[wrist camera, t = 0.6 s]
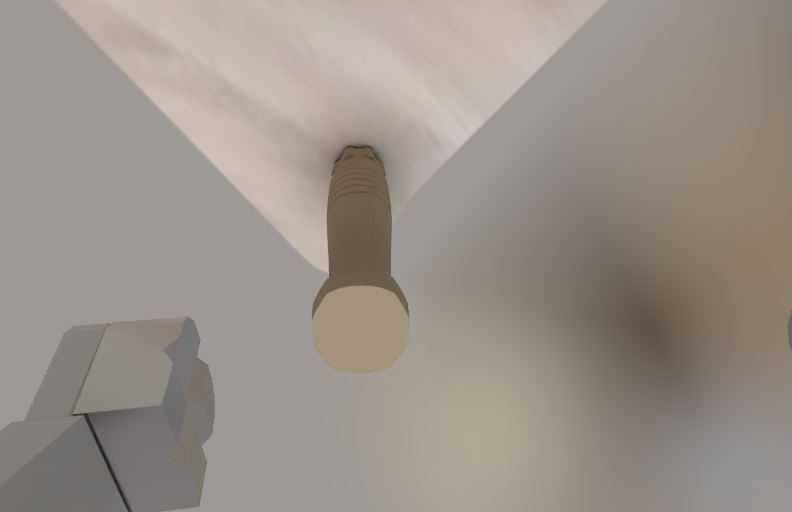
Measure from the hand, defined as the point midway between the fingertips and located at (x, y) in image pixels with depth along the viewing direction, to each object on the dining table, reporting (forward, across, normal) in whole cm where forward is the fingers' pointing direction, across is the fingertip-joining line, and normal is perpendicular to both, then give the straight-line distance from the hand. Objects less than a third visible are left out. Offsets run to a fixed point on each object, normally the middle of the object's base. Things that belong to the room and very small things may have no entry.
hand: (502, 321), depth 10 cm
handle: (+35, +2, +16) cm, 39 cm away
